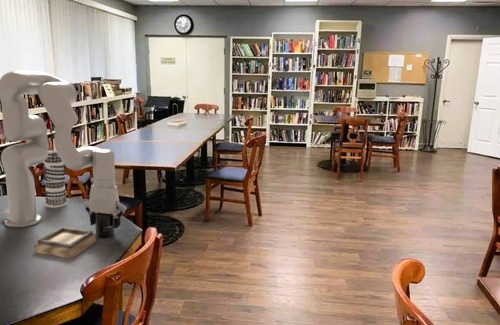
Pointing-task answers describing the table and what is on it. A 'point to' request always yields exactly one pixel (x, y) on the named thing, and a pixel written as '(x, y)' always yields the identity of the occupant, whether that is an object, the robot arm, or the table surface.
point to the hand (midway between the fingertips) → (105, 225)
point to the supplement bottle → (104, 225)
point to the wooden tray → (65, 242)
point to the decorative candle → (54, 180)
